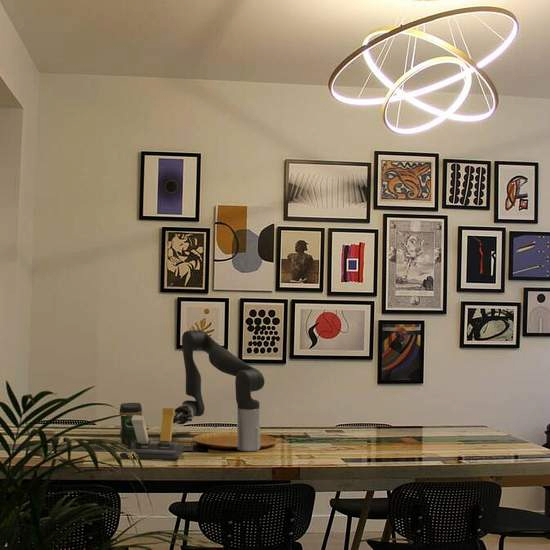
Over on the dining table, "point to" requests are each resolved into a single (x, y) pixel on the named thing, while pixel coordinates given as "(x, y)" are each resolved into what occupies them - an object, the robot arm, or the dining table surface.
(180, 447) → the breaker panel
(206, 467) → the dining table surface
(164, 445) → the breaker lever
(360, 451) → the dining table surface
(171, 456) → the grey flat bar
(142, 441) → the lever
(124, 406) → the coffee jar
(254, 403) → the robot arm
